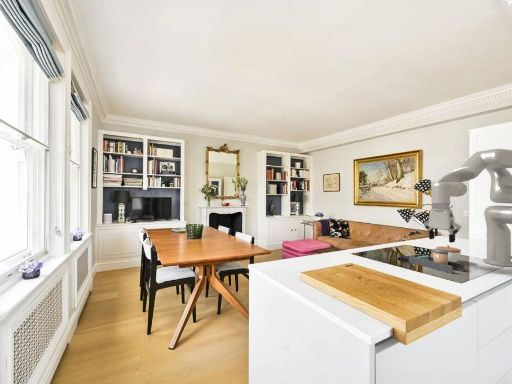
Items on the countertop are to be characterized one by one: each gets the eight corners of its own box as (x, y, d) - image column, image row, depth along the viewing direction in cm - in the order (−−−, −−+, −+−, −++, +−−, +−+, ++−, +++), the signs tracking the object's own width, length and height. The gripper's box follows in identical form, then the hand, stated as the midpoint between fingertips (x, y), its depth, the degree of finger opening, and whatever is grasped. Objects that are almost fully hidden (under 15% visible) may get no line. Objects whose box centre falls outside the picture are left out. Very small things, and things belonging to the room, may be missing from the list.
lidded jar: (461, 266, 131) (461, 248, 131) (435, 262, 137) (435, 245, 137) (460, 262, 139) (460, 245, 139) (436, 259, 146) (436, 242, 146)
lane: (420, 260, 142) (420, 254, 142) (464, 271, 121) (464, 264, 121) (408, 262, 138) (408, 255, 138) (451, 273, 118) (451, 266, 118)
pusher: (426, 262, 137) (426, 255, 137) (428, 262, 136) (428, 256, 136) (417, 263, 134) (417, 256, 134) (419, 263, 133) (419, 257, 133)
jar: (438, 266, 131) (438, 248, 131) (451, 269, 125) (451, 250, 125) (430, 267, 129) (430, 249, 129) (443, 270, 123) (443, 251, 123)
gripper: (464, 207, 121) (465, 243, 120) (428, 205, 137) (429, 237, 137) (454, 207, 118) (455, 244, 118) (419, 206, 134) (419, 238, 134)
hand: (441, 240), depth 127 cm, fingers open, 9 cm apart
